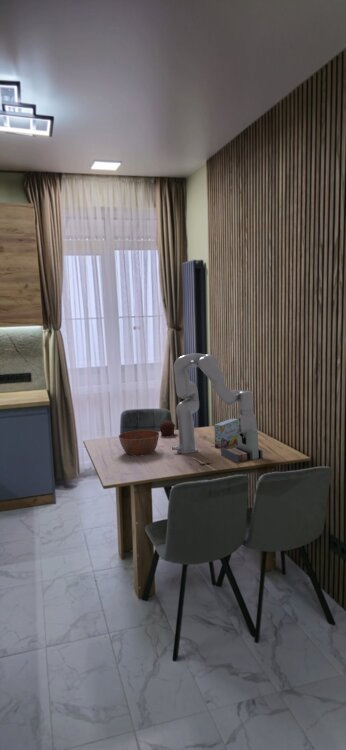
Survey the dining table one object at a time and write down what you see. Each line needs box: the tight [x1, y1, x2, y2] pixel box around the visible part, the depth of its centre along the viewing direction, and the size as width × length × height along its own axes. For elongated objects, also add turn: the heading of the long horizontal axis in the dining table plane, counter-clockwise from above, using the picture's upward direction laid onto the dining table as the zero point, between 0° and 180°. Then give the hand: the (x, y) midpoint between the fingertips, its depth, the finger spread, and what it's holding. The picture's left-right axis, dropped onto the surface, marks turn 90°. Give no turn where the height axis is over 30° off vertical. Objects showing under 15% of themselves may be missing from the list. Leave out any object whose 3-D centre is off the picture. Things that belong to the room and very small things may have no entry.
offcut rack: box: [220, 444, 264, 464], centre depth 294 cm, size 17×18×6 cm
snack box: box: [213, 418, 239, 449], centre depth 325 cm, size 21×6×15 cm, turn 143°
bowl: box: [118, 429, 160, 457], centre depth 317 cm, size 25×25×11 cm
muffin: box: [159, 420, 176, 437], centre depth 359 cm, size 12×11×10 cm
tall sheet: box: [237, 428, 259, 460], centre depth 295 cm, size 4×16×15 cm, turn 23°
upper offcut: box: [226, 447, 247, 458], centre depth 293 cm, size 6×14×2 cm, turn 23°
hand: (247, 443), depth 295 cm, fingers closed on tall sheet, 4 cm apart
